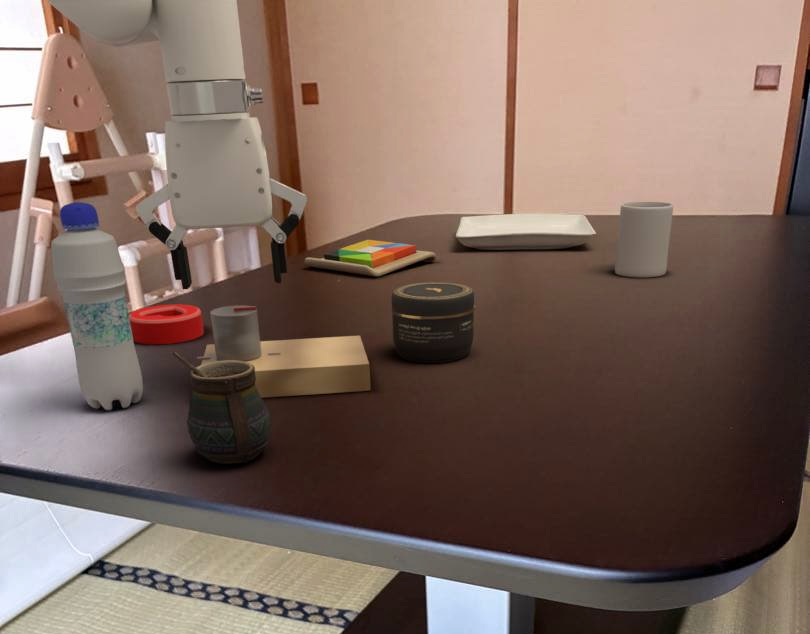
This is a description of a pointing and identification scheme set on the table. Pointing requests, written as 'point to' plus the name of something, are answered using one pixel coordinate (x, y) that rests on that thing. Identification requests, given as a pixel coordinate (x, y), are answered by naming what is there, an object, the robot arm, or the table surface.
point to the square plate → (524, 231)
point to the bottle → (96, 308)
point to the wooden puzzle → (371, 258)
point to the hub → (236, 333)
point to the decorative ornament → (166, 324)
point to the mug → (643, 239)
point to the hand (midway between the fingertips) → (233, 283)
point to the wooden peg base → (308, 366)
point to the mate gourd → (226, 411)
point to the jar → (433, 321)
